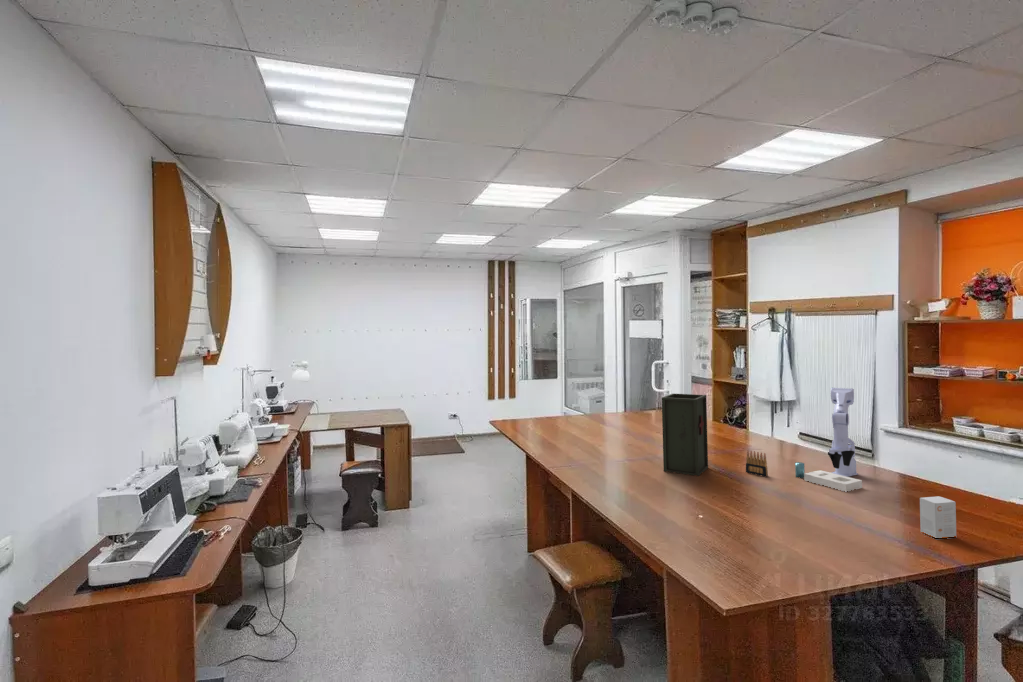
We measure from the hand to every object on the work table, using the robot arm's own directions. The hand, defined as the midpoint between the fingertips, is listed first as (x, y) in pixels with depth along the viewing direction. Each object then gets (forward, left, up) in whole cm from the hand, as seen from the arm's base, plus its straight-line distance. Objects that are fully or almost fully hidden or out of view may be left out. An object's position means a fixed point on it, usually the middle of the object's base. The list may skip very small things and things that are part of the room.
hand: (841, 466), depth 234 cm
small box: (+25, +49, -10) cm, 56 cm away
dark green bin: (+40, -59, -10) cm, 72 cm away
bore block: (0, -5, -9) cm, 10 cm away
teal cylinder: (+2, -20, -10) cm, 22 cm away
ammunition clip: (+16, -34, -10) cm, 38 cm away
